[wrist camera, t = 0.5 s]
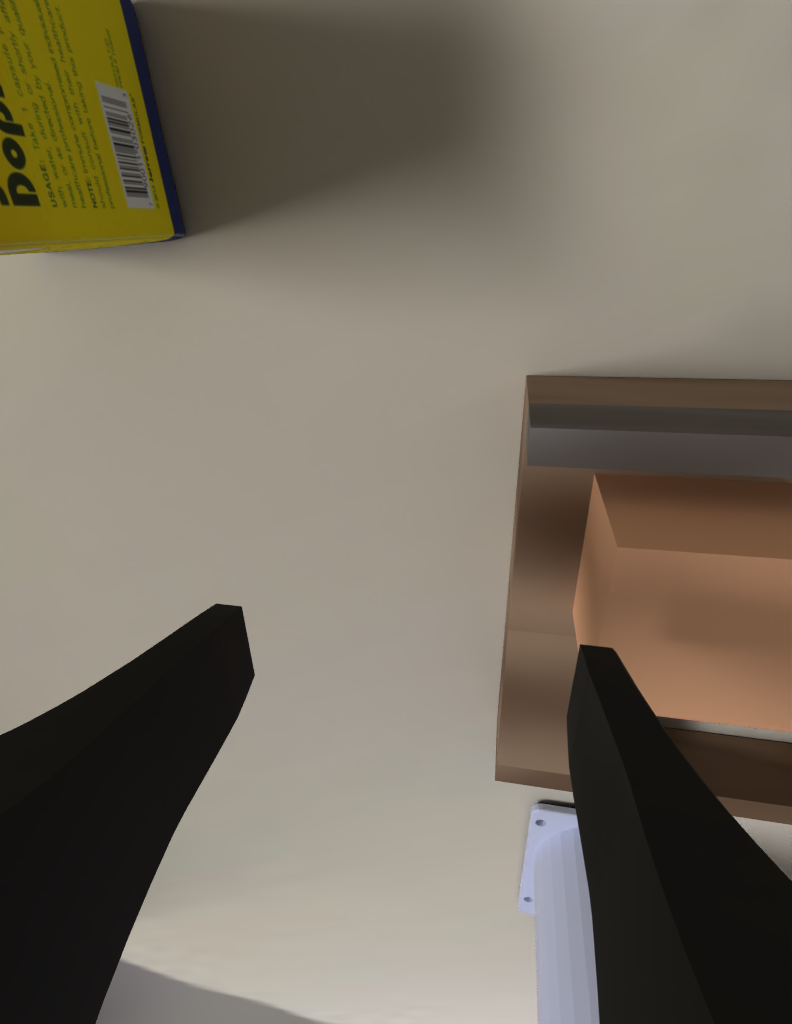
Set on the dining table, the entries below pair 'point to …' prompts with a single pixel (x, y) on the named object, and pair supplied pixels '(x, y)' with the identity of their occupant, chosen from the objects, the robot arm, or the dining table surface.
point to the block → (693, 594)
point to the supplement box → (79, 131)
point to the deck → (559, 542)
